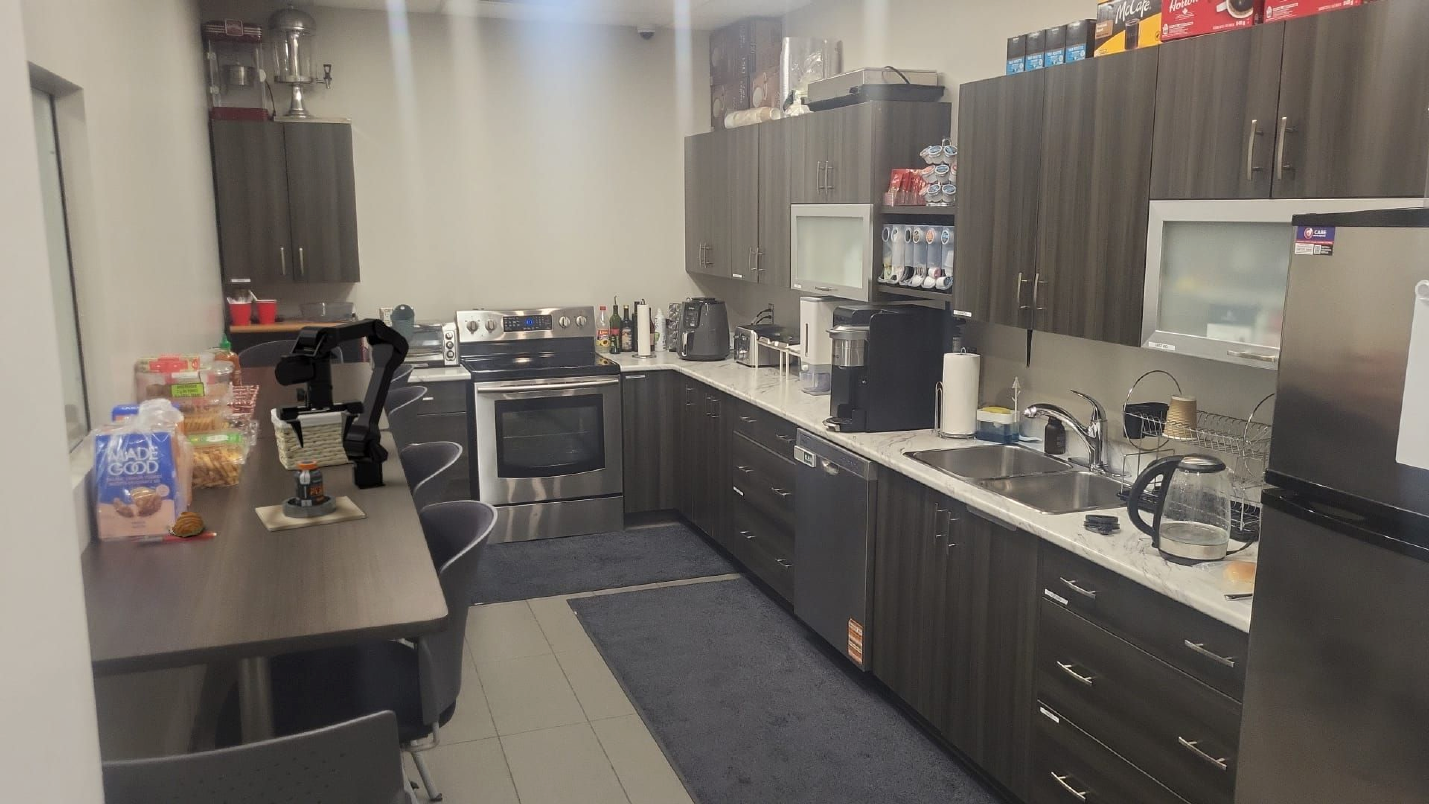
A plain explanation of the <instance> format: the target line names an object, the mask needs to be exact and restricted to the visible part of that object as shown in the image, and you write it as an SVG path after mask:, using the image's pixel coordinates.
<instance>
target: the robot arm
mask: <svg viewBox="0 0 1429 804" xmlns="http://www.w3.org/2000/svg"><path fill="white" fill-rule="evenodd" d="M363 338H365V339H366V343H367V344H368V345H369V346H370V347H371V348H372V349H371V357H372V362H373V365H374V366H373V369H372V373H371V376H370V379H369V382H368V385H367V389H366V393H365V396H364V398H363V401H361V400H359V399H358V398H351V399H342V400H341V403H342V404H337V403H334V394H333V393H334V392H333V389H334V388H333V376H332V363H331V362H332V360H336V359H337V360H338V355H337V354H336V353H334V352H333V351H332V350H334V349H336V348H338V347H339V346H340V344H342V343H345V342H348V341H354V340H358V339H363ZM409 349H410V345H409V343H408V340H407V339H406V337H405V336H403V335H402V334H400V332H399V331H397V330H395V329H393V328H392V327H390V326H388V324H386V323H385V322H384V321H383V320H382V319H380V318H370V317H369V318H367V317H365V318H364V319H360V320H356V321H352V322H346V323H342V324H337V325H332V326H325V325H324V326H320V325H319V326H317V325H305V326H303V327H302V328H301V329H300V331H299V334H298V335H297V338H296V340H295V342H294V344H293V346H292V348H291V350H290V352H289V355H281V356H280V361H279V362H277V364H276V366H275V369H274V377H275V379H276V381H277V383H278V384H279V385H280V386H282V387H289V386H294V385H300V384H305V389H304V387H299V388H294V401H295V403H298V404H299V403H303V406H297V405H296V404H294V403H292V404H279V405H278V406H277V407H276V416H277V418H278V419H279V420H281V421H284V422H286V423H287V424H290V425H291V427H292V428H293V430H294V432H295V434H296V437H297V439H298V441H299V444H300V446H301V448H303V447H304V442H303V435H302V428H301V422H300V420H299V419H298V416H299V415H308V414H319V413H331V412H341V418H342V426H341V441H342V444H343V448H344V451H345V453H346V456H347V459H348V461H354V462H353V466H352V467H351V478H352V479H351V480H352V481H351V482H352V484H353V485H354V486H355V487H356V488H357V489H367V488H375V487H383V486H384V487H385V485H386V483H385V482H384V475H383V464H384V463H385V462H387V461H388V457H389V451H388V450H387V449H386V448H385V447H384V446H383V445H382V444H381V440H382V434H381V430H380V427H379V424H380V420H381V417H382V413H383V410H384V406H385V404H386V401H387V398H388V397H387V396H388V394H389V389H390V387H391V383H392V381H393V377H394V373H395V371H396V370H397V369H398V368H399V367H400V366H401V365H402V364H403V363H404V362H405V359H406V357H407V355H408V353H409ZM304 406H305V407H304ZM312 409H315V410H312ZM342 411H343V412H342ZM358 414H360V415H358ZM358 417H359V418H358ZM355 418H358V420H357V421H356V422H355V423H354V424H352V423H353V421H354V419H355Z"/></svg>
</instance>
